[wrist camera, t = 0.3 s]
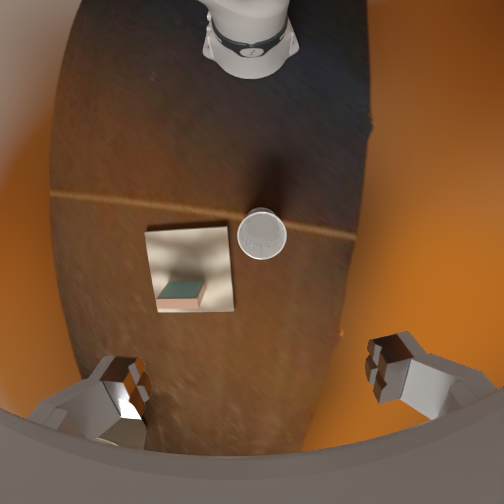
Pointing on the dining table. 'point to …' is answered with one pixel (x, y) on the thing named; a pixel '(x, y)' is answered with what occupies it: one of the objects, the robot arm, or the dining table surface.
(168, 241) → the board
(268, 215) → the white cup
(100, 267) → the dining table surface
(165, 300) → the block
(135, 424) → the canister
